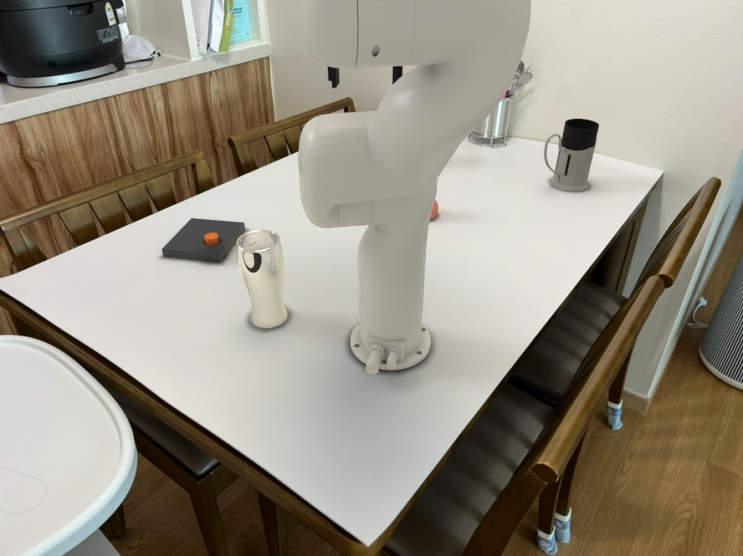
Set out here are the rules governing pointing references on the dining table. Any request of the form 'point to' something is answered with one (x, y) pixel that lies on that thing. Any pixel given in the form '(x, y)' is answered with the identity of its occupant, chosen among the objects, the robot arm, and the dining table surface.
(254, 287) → the beer glass
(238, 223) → the dark grey flat block
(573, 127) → the glass holder
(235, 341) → the dining table surface
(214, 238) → the button
